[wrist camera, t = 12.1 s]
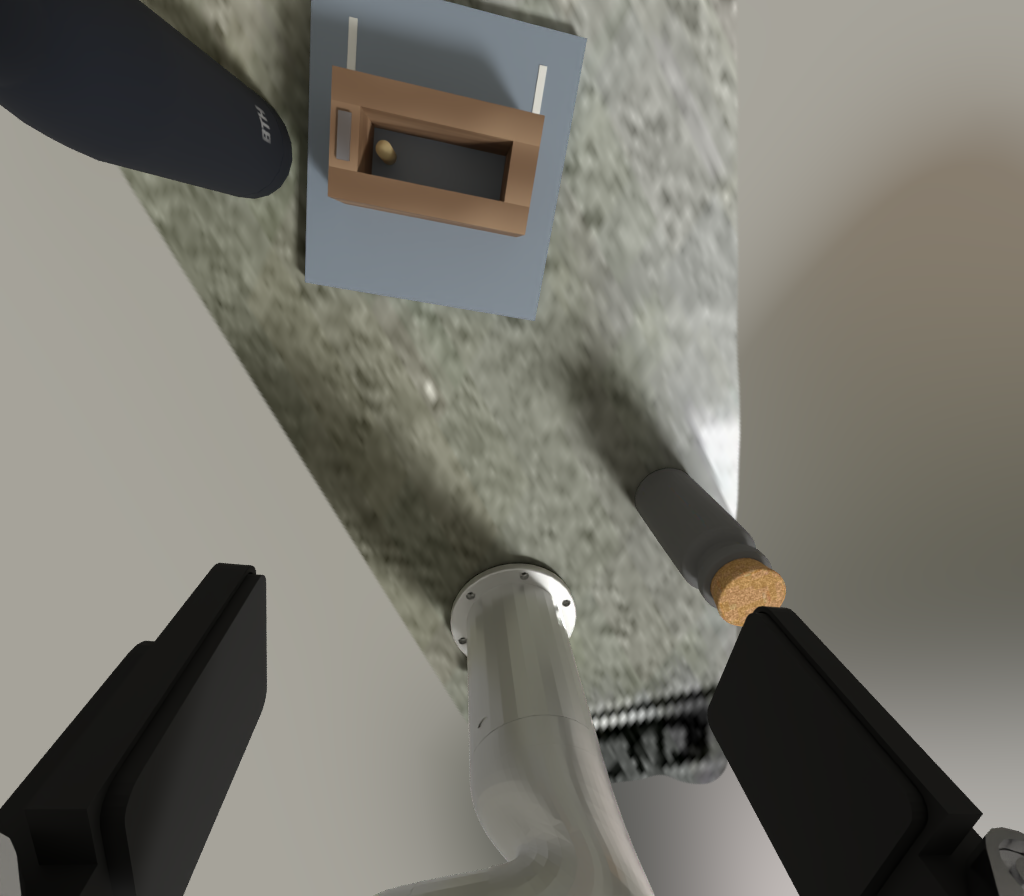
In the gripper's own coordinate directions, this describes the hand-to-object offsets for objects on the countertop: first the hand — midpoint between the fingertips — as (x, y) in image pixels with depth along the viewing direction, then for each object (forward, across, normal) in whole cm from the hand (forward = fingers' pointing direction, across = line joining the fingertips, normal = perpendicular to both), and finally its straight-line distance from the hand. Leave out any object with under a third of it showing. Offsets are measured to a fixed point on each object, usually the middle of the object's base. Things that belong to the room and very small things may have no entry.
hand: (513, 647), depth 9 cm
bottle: (+32, -20, +11) cm, 40 cm away
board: (+32, +4, -12) cm, 35 cm away
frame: (+31, +4, -12) cm, 34 cm away
